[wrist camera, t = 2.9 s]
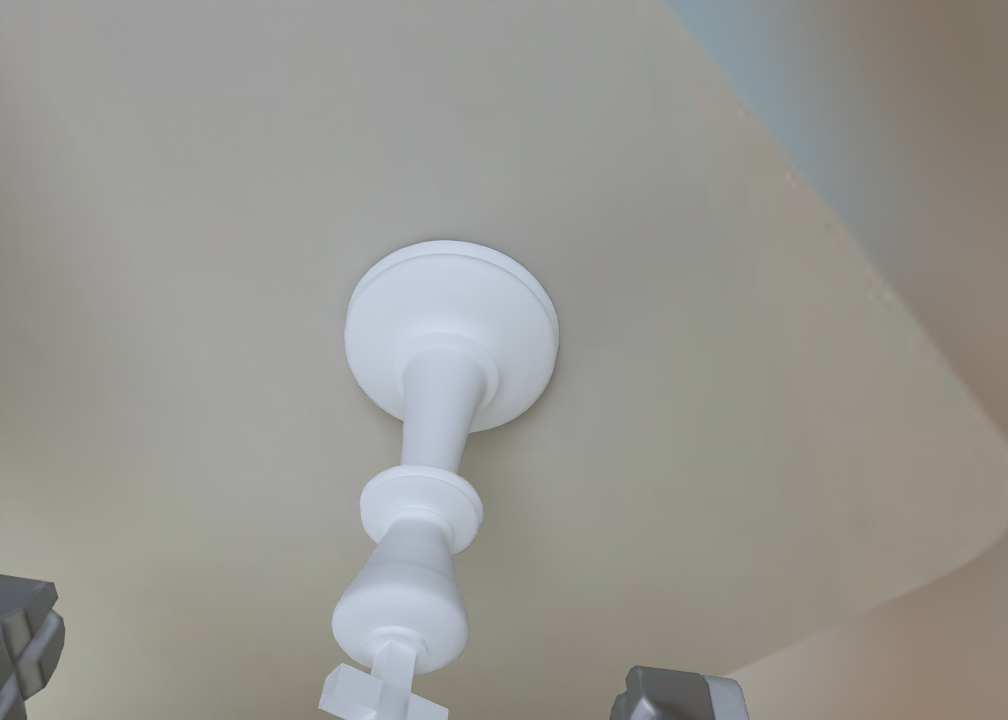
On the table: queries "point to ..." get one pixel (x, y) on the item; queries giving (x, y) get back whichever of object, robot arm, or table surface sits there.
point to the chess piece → (429, 454)
